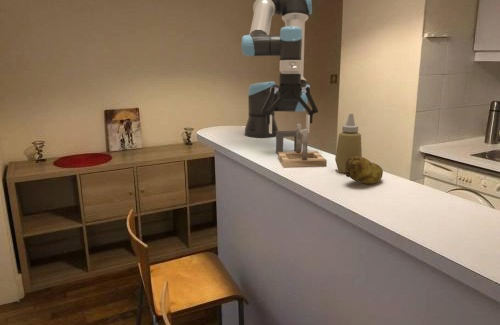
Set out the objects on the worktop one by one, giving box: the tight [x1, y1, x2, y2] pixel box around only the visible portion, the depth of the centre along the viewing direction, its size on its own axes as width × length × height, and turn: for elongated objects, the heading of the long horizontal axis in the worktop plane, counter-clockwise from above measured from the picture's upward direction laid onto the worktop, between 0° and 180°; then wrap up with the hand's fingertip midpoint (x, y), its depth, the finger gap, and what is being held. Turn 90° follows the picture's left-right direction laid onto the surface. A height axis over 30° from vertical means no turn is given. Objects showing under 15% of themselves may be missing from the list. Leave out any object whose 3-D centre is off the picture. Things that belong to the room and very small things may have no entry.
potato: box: [345, 156, 384, 185], centre depth 116 cm, size 8×13×8 cm, turn 105°
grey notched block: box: [275, 130, 303, 155], centre depth 152 cm, size 9×3×8 cm, turn 95°
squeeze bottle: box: [334, 113, 363, 174], centre depth 126 cm, size 8×8×18 cm
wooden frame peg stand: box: [277, 123, 328, 169], centre depth 139 cm, size 13×14×12 cm
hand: (289, 132), depth 150 cm, fingers open, 13 cm apart
